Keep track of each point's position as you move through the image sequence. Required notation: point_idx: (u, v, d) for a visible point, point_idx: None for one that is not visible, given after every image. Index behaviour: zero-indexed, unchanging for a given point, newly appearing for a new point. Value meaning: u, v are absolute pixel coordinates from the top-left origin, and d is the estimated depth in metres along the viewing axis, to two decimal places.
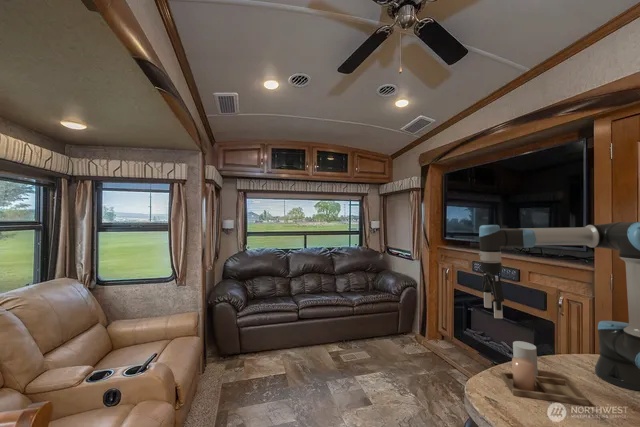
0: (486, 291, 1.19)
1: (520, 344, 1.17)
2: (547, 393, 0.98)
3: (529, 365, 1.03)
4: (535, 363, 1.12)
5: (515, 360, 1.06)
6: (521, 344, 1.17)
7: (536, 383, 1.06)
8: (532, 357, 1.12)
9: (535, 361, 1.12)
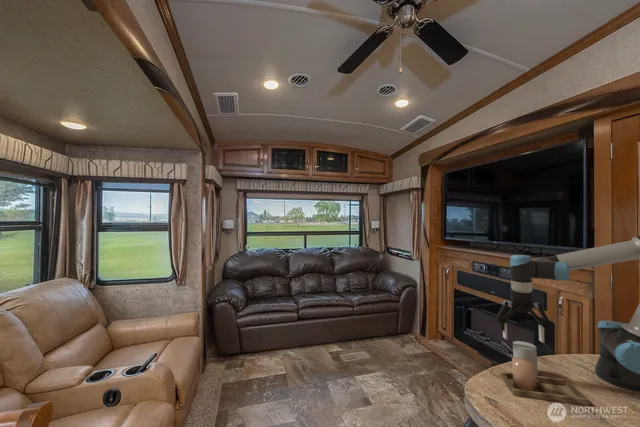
0: (541, 325, 1.15)
1: (520, 344, 1.17)
2: (547, 393, 0.98)
3: (529, 365, 1.03)
4: (535, 363, 1.12)
5: (515, 361, 1.06)
6: (521, 344, 1.17)
7: (536, 383, 1.06)
8: (532, 357, 1.12)
9: (535, 361, 1.12)
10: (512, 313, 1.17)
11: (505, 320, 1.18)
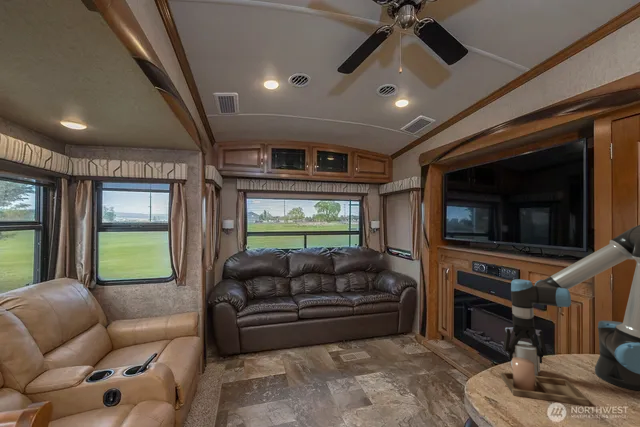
0: (537, 353, 1.15)
1: (520, 344, 1.17)
2: (547, 393, 0.98)
3: (529, 365, 1.03)
4: (535, 363, 1.12)
5: (515, 360, 1.06)
6: (521, 344, 1.17)
7: (536, 383, 1.06)
8: (532, 356, 1.12)
9: (535, 361, 1.12)
10: (517, 340, 1.16)
11: (512, 349, 1.16)
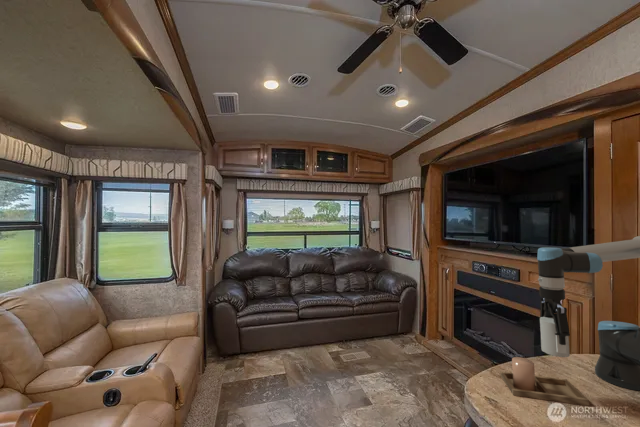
0: None
1: (552, 321, 1.02)
2: (547, 393, 0.98)
3: (529, 365, 1.03)
4: None
5: (515, 361, 1.06)
6: (552, 320, 1.03)
7: (536, 383, 1.06)
8: None
9: None
10: None
11: None
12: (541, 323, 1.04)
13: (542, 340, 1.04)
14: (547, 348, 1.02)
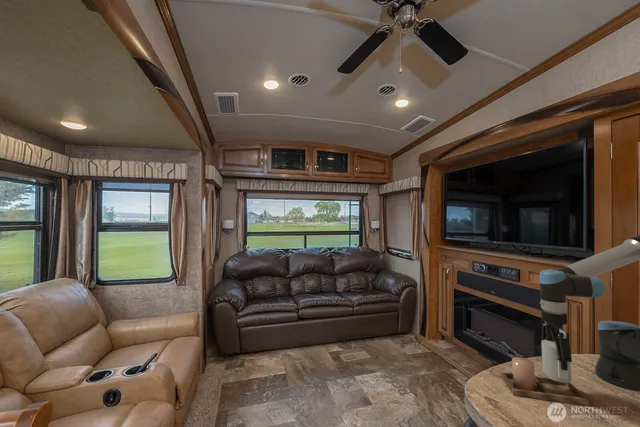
0: None
1: (554, 345, 1.02)
2: (547, 393, 0.98)
3: (529, 365, 1.03)
4: None
5: (515, 360, 1.06)
6: (553, 344, 1.02)
7: (536, 383, 1.06)
8: None
9: None
10: None
11: None
12: (543, 347, 1.04)
13: (544, 364, 1.03)
14: (548, 373, 1.01)
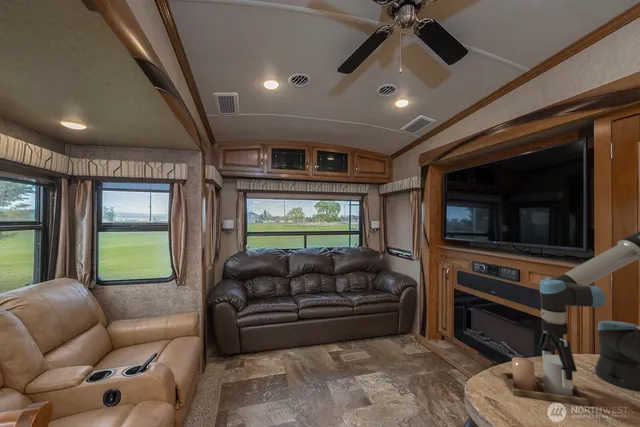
0: (545, 350, 1.09)
1: (555, 361, 1.02)
2: (547, 393, 0.98)
3: (529, 365, 1.03)
4: None
5: (515, 360, 1.06)
6: (555, 360, 1.02)
7: (536, 383, 1.06)
8: None
9: None
10: None
11: None
12: (544, 362, 1.03)
13: (545, 379, 1.03)
14: (550, 389, 1.01)
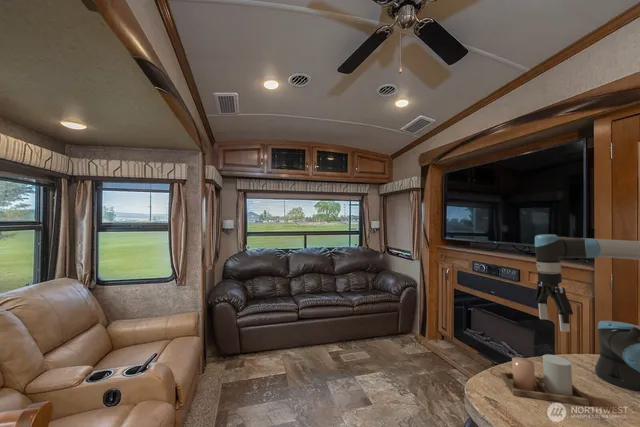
0: (541, 302, 1.16)
1: (555, 361, 1.02)
2: (547, 393, 0.98)
3: (529, 365, 1.03)
4: None
5: (515, 360, 1.06)
6: (555, 360, 1.02)
7: (536, 383, 1.06)
8: None
9: None
10: None
11: None
12: (544, 362, 1.03)
13: (545, 379, 1.03)
14: (550, 389, 1.01)
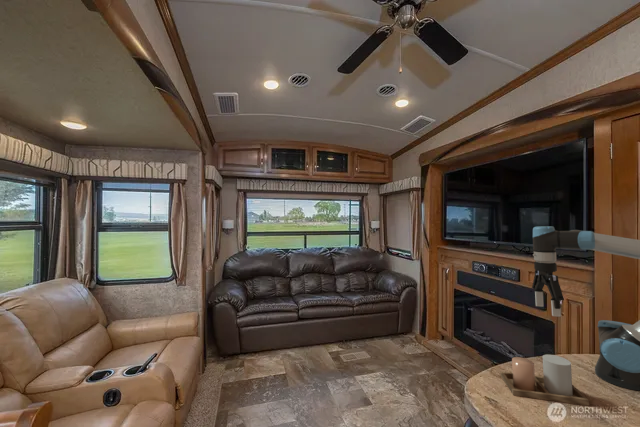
0: (537, 290, 1.23)
1: (555, 361, 1.02)
2: (547, 393, 0.98)
3: (529, 365, 1.03)
4: None
5: (515, 360, 1.06)
6: (555, 360, 1.02)
7: (536, 383, 1.06)
8: None
9: None
10: None
11: None
12: (544, 362, 1.03)
13: (545, 379, 1.03)
14: (550, 389, 1.01)
